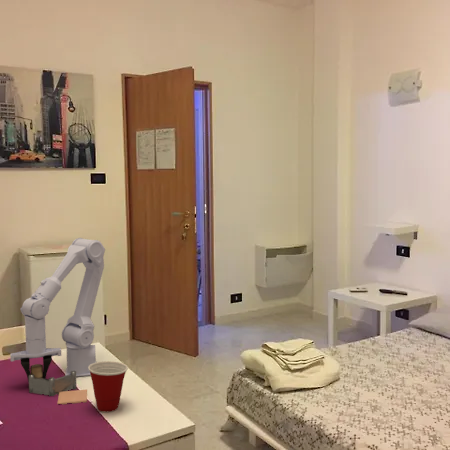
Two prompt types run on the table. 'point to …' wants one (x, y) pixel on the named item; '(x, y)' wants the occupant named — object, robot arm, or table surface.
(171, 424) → the table surface
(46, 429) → the table surface
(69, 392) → the coaster
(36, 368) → the oak dowel
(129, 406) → the table surface
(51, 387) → the bent rail
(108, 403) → the plastic cup
